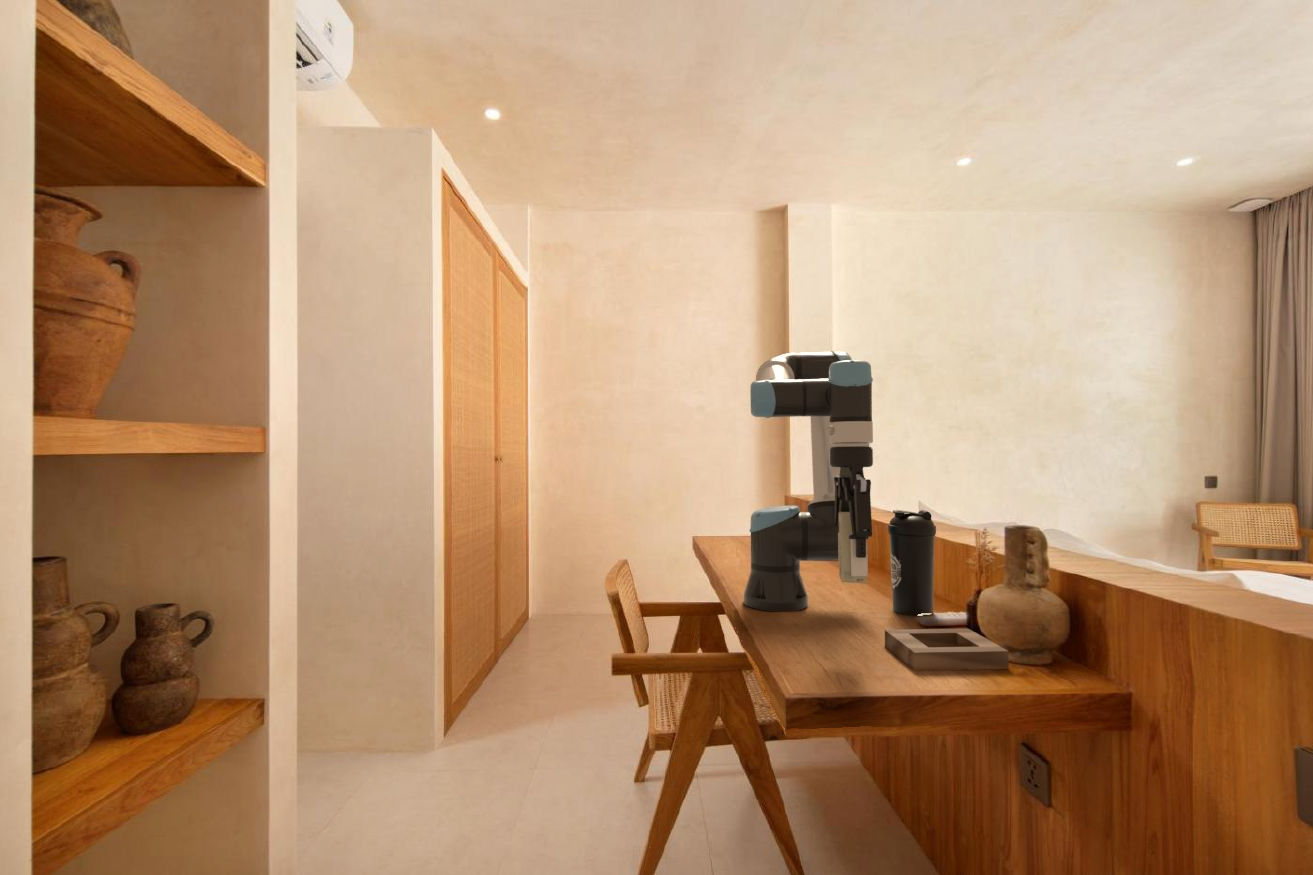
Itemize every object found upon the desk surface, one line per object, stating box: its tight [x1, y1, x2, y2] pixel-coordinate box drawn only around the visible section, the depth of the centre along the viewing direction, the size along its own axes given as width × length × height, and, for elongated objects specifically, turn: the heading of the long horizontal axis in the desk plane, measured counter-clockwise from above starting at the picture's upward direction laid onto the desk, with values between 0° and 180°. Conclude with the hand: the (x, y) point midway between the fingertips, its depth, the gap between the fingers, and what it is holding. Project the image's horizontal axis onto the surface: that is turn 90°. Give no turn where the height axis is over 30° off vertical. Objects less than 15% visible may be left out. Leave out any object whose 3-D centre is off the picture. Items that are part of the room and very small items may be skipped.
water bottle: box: [887, 509, 937, 617], centre depth 141 cm, size 10×10×23 cm
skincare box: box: [838, 512, 867, 584], centre depth 113 cm, size 6×4×12 cm
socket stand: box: [884, 628, 1010, 671], centre depth 111 cm, size 13×16×3 cm
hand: (852, 571), depth 113 cm, fingers closed on skincare box, 7 cm apart
